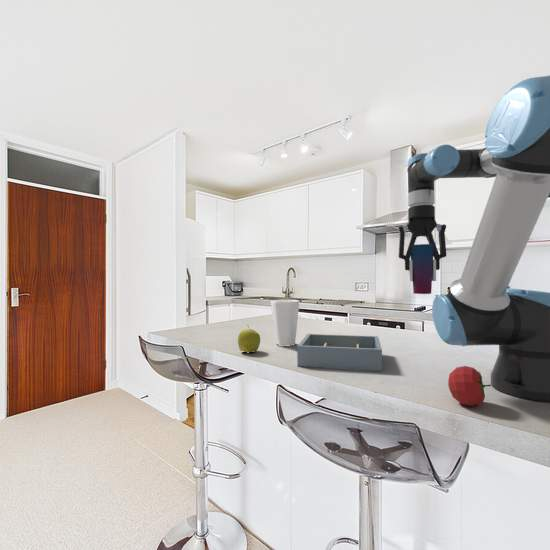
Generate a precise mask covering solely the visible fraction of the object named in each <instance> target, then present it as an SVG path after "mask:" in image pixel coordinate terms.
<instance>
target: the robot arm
mask: <svg viewBox="0 0 550 550" xmlns="http://www.w3.org/2000/svg"><path fill="white" fill-rule="evenodd" d="M484 133H485V135H484V137H485V138H486V140H485V141H484V144H485V147H484V148H478V149H477V148H476V149H473V148H472V149H457V148H456V147H454V146H452V145H450V144H441V145H438V146H437V147H435V148H433V149H432V150H430V151H429V152H423V153H417V154H415V155H413V156H410V157H409V158H408V160H407V169H406V171H407V172H406V173H407V194H408V195H407V197H408V198H407V200H408V202H407V203H408V204H407V205H408V207H409V208H408V211H407V213H408V216H407V217H408V221H407V224H406V225H404V226H399V227H398V229H397V230H398V234H399V241H398V243H399V245H398V246H399V247H398V258H399V259H401V260H403V261H404V270H405V271H408V282H413V276H412V260H411V253H412V246H411V245H416V244H415V243H416V240H417V238H419V237H425V239H426V240H427V242H428V243H427V244H434V248H433V270H432V282H437V271H439V270H440V269H441V265H440V260H441V259H443V258H445V257H447V245H446V234H445V232H446V229H447V224H445V223H444V224H439V223H437V221H436V207H435V206H434V205H435V203H436V201H435V195H436V194H435V191H436V190H435V182H436V181H437V180H439V179H461V178H462V179H464V178H466V179H467V178H486V179H488V178H489V179H490V178H494V180H493V181H494V182H493V185H492V188H491V191H490V193H489V196H488V198H487V202H486V205H485V207H484V210H483V213H482V217H481V219H480V222H479V225H478V228H477V231H476V234H475V235H474V239H473V242H472V246H471V248H470V251H469V254H468V256H467V260H466V262H465V265H464V269H463V270H462V274H461V277H460V278H458V279H456V280H454V281H452V282H451V283H450V285H449V288H448V291H447V294H444V293H441V294H438V295H436V296H435V297H434V299H433V301H432V308H431V310H432V311H431V312H432V314H431V315H432V319H433V320H432V321H433V325H434V327H435V330H436V332H437V334H438V336H439V337H440V339H441V341H443V342H444V343H445V344H447V345H451V346H461V347H467V346H469V347H471V346H498V355H497V358H496V360H495V363H494V365H493V368H492V371H491V373H490V385H491V387H493V388H494V389H495V390H498V391H500V392H502V393H504V394H506V395H509V396H510V395H511V396H513V397H517V398H521V399H526V400H532V401H537V402H538V401H539V402H548V403H549V402H550V292H547V291H539V290H532V289H522V288H521V289H520V288H509V285H510V283H511V280H512V278H513V275H514V274H515V273H516V272H515V271H516V270H517V266H518V265H519V262H520V260H521V257H522V255H523V253H524V251H525V249H526V247H527V244H528V242H529V240H530V237H531V236H532V233H533V231H534V229H535V227H536V225H537V222H538V220H539V218H540V215H541V213H542V211H543V209H544V206H545V205H546V202H547V200H548V198H549V195H550V75H546V76H545V75H544V76H536V77H530V78H526V79H523V80H521V81H520V82H517V83H516V84H515V85H513V86H512V87H511V88H510V89H509V90H508V91H507V92H505V93H504V95H503V96H502V97H501V98H500V99H499V100H498V101H497V103H496V105H495V107H494V108H493V110H492V112H491V114H490V117H489V118H488V122H487V125H486V128H485V132H484ZM407 229H408V231H409V232H410V234H411V237H410V241H409V244H408V245H407V246H408V247H407V249H406V250H407V251H406V253H405V239H406V235H405V234H406V232H407ZM435 229H436V232H438V244H439V245H438V246H439V250H438V248H437V247H438V246H437V245H436V242H435V239H434V235H433V231H435Z"/></svg>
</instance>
